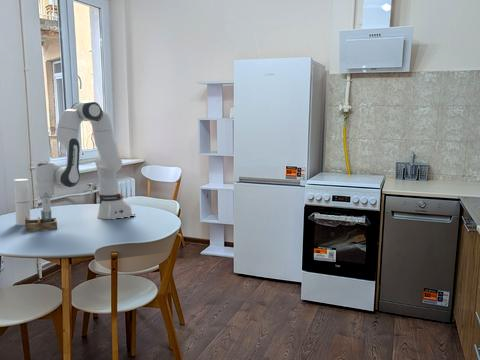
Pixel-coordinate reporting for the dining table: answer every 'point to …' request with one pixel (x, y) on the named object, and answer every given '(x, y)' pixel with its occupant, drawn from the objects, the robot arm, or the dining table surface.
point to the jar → (44, 217)
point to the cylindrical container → (21, 200)
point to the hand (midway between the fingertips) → (46, 217)
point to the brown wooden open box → (39, 225)
